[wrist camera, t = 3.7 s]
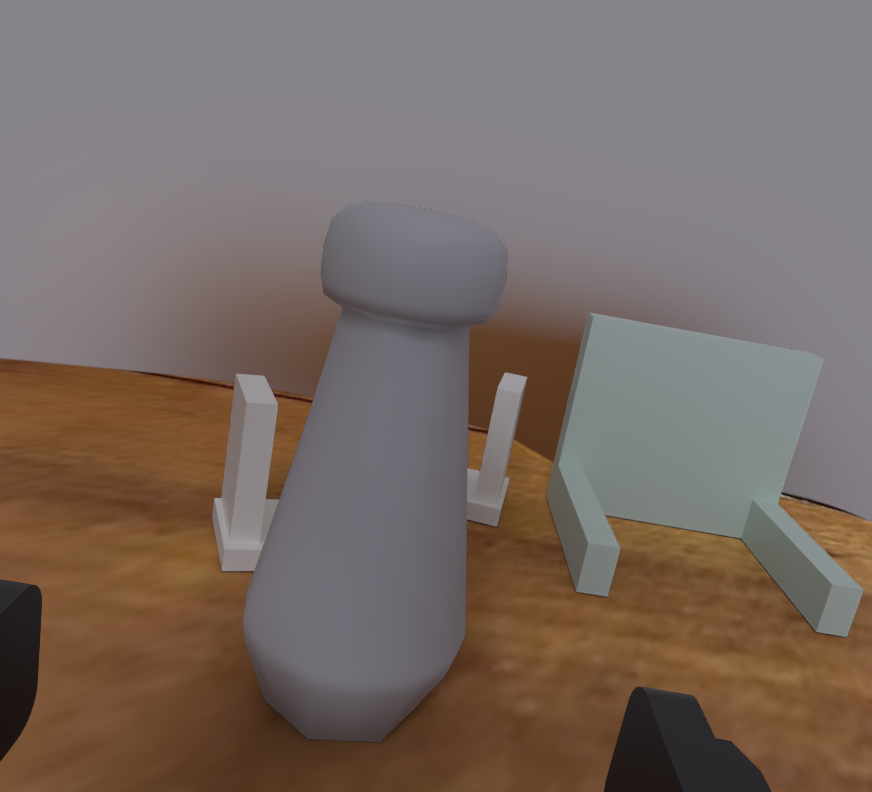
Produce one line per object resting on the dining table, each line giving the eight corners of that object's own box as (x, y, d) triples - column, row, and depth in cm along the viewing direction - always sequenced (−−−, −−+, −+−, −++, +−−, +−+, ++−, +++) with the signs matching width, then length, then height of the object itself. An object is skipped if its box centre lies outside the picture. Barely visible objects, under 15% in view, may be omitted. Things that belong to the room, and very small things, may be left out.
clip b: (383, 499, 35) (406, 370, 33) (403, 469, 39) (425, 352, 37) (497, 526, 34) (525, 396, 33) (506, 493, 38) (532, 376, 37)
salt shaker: (406, 626, 26) (485, 213, 22) (481, 753, 21) (600, 246, 17) (217, 638, 23) (274, 178, 20) (251, 784, 18) (335, 203, 15)
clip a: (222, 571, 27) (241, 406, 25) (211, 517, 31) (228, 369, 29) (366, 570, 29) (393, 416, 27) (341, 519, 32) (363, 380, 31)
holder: (575, 591, 30) (635, 358, 28) (545, 495, 39) (588, 312, 37) (846, 637, 30) (928, 411, 28) (755, 531, 39) (811, 353, 37)
